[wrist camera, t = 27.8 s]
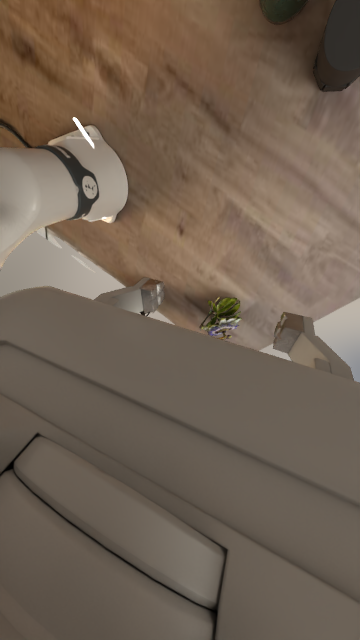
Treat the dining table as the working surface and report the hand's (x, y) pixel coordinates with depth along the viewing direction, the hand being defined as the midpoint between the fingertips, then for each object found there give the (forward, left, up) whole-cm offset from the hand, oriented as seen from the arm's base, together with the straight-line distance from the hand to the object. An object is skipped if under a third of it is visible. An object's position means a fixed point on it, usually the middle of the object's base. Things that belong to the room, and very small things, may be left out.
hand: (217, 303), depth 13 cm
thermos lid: (+5, +18, -35) cm, 40 cm away
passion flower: (-3, -27, -35) cm, 45 cm away
